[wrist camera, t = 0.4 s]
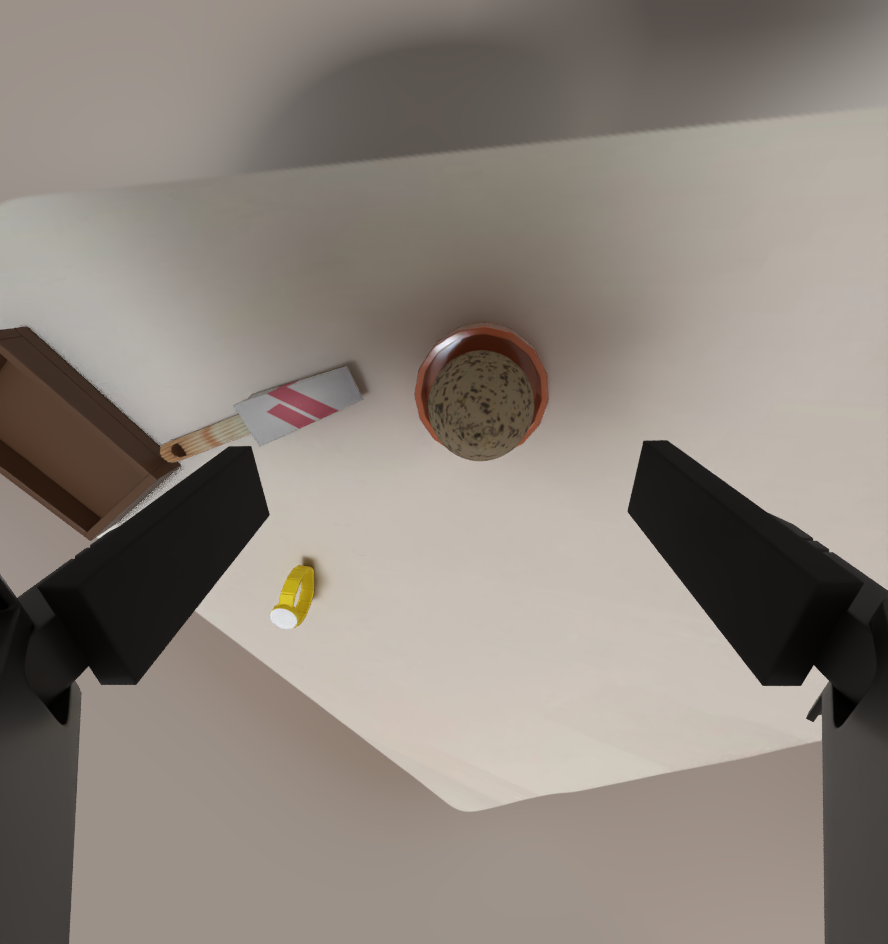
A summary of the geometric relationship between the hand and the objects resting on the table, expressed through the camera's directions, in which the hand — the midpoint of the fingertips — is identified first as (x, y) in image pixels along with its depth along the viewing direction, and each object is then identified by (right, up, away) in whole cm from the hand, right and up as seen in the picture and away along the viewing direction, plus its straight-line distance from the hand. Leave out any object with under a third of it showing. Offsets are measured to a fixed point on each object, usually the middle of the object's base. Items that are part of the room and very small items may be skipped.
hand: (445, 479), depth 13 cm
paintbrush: (-16, +5, +20) cm, 27 cm away
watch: (-15, -11, +29) cm, 34 cm away
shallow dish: (+3, +7, +17) cm, 19 cm away
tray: (-35, +4, +23) cm, 42 cm away
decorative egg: (+3, +7, +17) cm, 18 cm away
